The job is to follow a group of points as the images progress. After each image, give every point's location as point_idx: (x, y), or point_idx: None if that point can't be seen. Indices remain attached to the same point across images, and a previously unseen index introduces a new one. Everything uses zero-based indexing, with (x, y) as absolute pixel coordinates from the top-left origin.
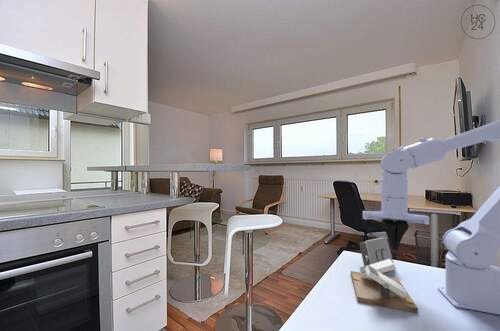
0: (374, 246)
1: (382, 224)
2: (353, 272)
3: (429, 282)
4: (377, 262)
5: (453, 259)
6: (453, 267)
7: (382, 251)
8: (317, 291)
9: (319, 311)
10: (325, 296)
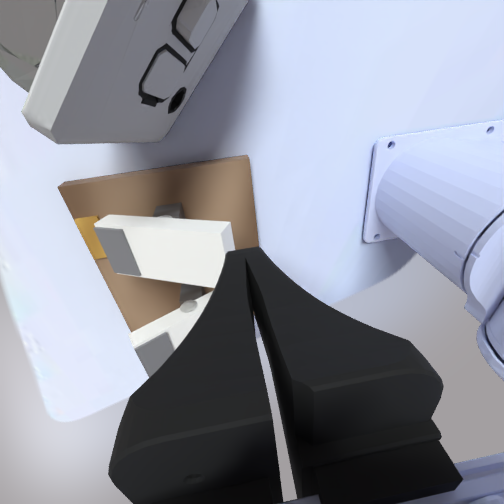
0: (117, 86)
1: (154, 375)
2: (73, 196)
3: (373, 85)
4: (164, 229)
5: (478, 290)
6: (448, 272)
7: (183, 30)
8: (28, 338)
9: (76, 388)
10: (59, 346)
